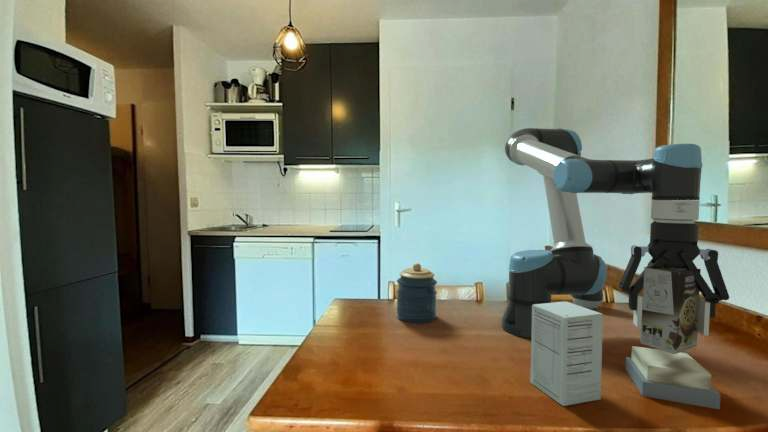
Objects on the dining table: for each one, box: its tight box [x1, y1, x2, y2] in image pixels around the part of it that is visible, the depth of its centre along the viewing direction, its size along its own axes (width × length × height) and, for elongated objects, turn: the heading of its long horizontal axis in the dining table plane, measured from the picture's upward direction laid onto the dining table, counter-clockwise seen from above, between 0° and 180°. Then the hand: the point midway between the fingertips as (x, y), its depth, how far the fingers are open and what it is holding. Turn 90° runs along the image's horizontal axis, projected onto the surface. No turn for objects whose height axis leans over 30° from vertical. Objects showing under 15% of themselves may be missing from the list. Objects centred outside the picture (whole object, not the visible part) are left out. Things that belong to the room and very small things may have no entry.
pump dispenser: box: [570, 288, 604, 310], centre depth 128 cm, size 10×10×15 cm
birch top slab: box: [630, 345, 712, 390], centre depth 73 cm, size 10×10×3 cm
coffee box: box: [639, 266, 701, 354], centre depth 72 cm, size 9×6×16 cm
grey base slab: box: [625, 356, 722, 410], centre depth 73 cm, size 12×12×4 cm
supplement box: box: [529, 301, 604, 407], centre depth 71 cm, size 10×9×17 cm
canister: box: [396, 262, 438, 324], centre depth 115 cm, size 13×13×18 cm
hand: (669, 329), depth 73 cm, fingers closed on coffee box, 10 cm apart
